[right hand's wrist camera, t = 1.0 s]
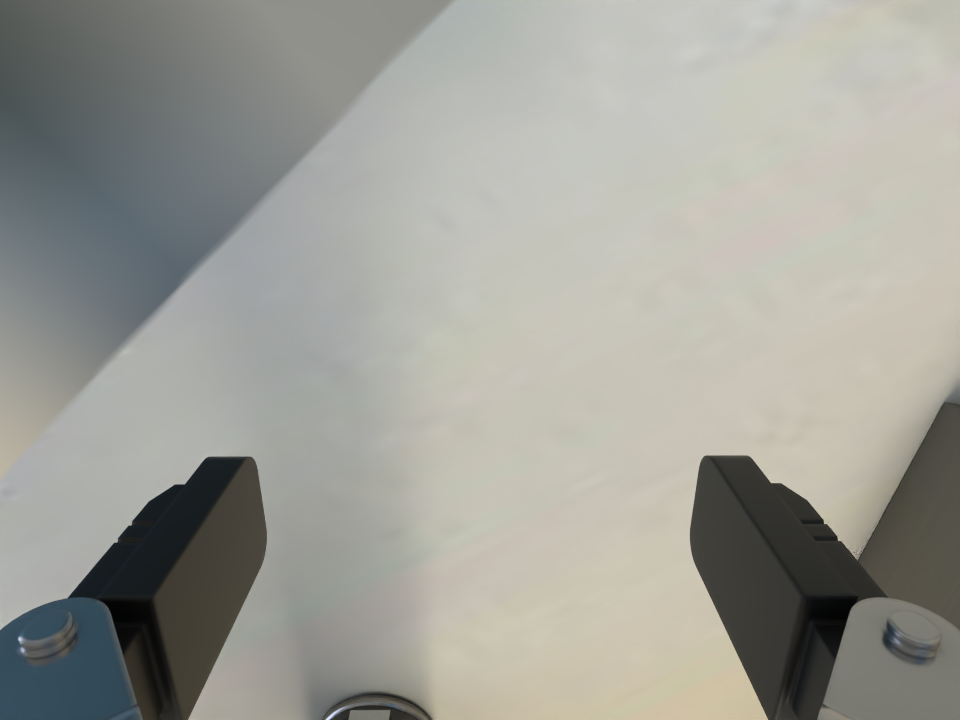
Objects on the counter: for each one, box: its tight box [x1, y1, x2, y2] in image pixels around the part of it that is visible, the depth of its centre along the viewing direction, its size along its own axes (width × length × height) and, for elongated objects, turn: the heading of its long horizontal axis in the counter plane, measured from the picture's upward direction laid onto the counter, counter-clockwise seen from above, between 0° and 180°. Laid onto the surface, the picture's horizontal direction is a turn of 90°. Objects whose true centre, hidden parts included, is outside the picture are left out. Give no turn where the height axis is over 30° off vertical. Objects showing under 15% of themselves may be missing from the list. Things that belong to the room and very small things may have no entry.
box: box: [858, 402, 960, 630], centre depth 40 cm, size 23×6×9 cm, turn 168°
